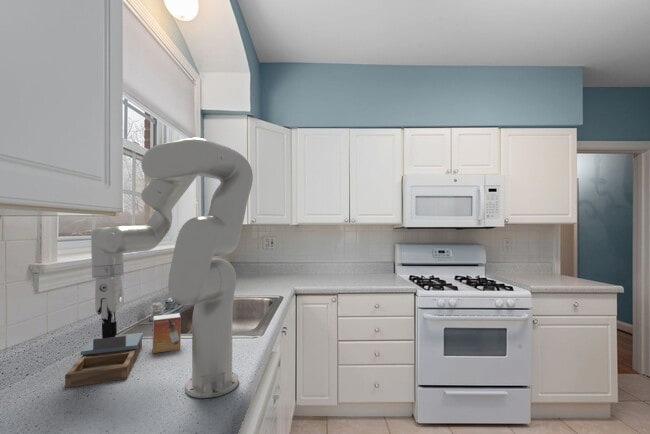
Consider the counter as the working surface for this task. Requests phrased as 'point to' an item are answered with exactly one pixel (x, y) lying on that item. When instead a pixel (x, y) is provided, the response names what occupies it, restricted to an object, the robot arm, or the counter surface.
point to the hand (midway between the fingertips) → (109, 336)
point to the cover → (112, 343)
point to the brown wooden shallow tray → (102, 367)
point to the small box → (166, 332)
